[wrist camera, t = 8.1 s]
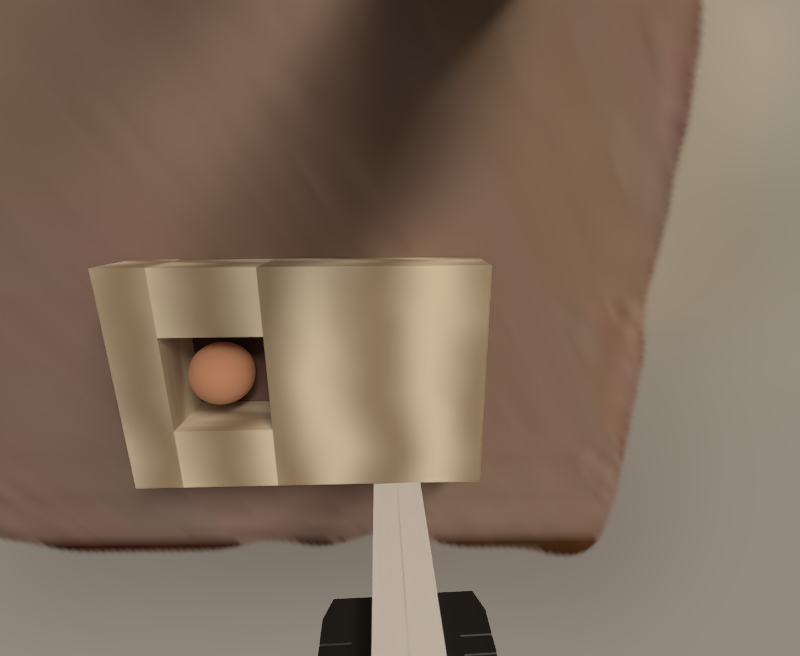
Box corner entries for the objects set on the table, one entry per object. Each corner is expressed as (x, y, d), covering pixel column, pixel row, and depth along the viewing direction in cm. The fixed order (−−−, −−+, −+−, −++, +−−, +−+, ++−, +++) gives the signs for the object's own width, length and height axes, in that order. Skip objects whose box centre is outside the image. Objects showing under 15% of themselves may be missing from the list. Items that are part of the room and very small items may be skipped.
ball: (188, 397, 27) (198, 422, 24) (179, 340, 26) (188, 359, 23) (250, 383, 29) (266, 405, 26) (243, 330, 28) (260, 346, 25)
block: (168, 452, 30) (136, 488, 26) (132, 259, 26) (88, 268, 22) (468, 446, 30) (479, 481, 27) (477, 257, 27) (492, 265, 23)
